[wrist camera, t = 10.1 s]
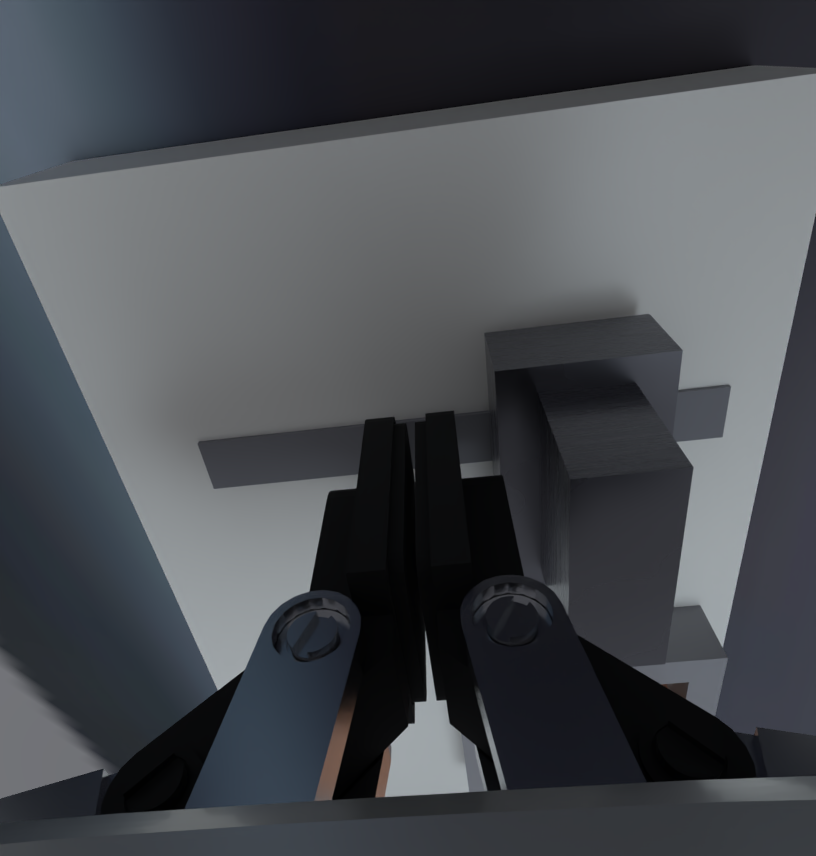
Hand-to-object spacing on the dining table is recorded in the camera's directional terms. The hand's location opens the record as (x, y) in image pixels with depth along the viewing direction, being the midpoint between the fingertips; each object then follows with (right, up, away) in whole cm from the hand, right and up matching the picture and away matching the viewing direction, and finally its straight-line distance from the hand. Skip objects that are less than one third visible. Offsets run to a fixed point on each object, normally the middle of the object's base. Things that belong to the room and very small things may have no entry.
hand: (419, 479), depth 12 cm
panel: (+1, -5, +9) cm, 10 cm away
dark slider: (+3, +1, +1) cm, 3 cm away
